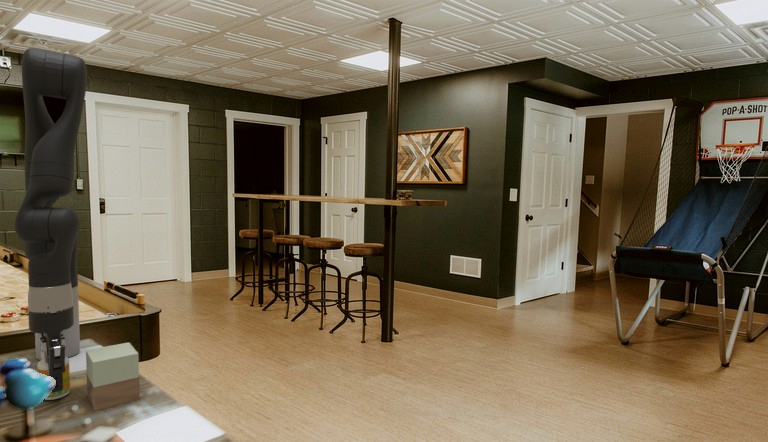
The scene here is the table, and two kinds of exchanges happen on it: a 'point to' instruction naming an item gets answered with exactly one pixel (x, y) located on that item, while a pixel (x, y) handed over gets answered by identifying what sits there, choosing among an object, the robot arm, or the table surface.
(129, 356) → the tower top
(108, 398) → the tower base
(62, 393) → the supplement bottle
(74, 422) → the table surface
